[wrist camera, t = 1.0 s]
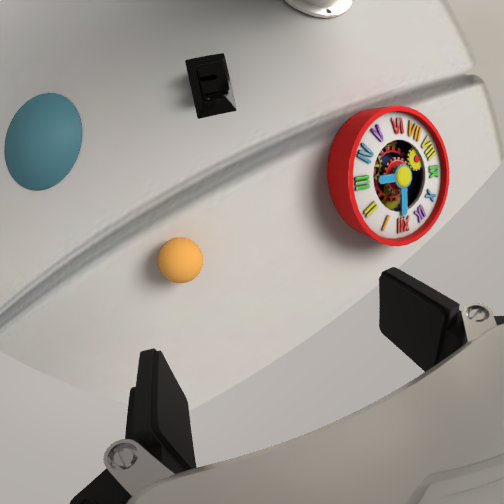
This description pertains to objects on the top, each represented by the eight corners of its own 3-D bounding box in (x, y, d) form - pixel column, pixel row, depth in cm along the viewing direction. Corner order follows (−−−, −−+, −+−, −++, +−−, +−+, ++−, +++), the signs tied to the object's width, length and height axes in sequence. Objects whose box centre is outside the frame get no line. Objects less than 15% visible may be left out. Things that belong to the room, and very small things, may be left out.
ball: (176, 223, 36) (175, 236, 31) (210, 249, 38) (214, 264, 33) (151, 256, 36) (147, 273, 31) (184, 279, 38) (185, 299, 33)
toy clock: (443, 108, 32) (448, 231, 40) (419, 109, 38) (425, 221, 45) (337, 105, 30) (353, 261, 37) (316, 110, 35) (333, 247, 42)
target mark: (40, 77, 24) (39, 77, 24) (101, 125, 29) (100, 125, 29) (-7, 157, 26) (-8, 157, 26) (48, 208, 31) (47, 209, 31)
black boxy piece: (174, 49, 29) (172, 37, 24) (230, 39, 30) (236, 26, 25) (192, 137, 33) (193, 135, 29) (249, 125, 34) (258, 121, 30)
